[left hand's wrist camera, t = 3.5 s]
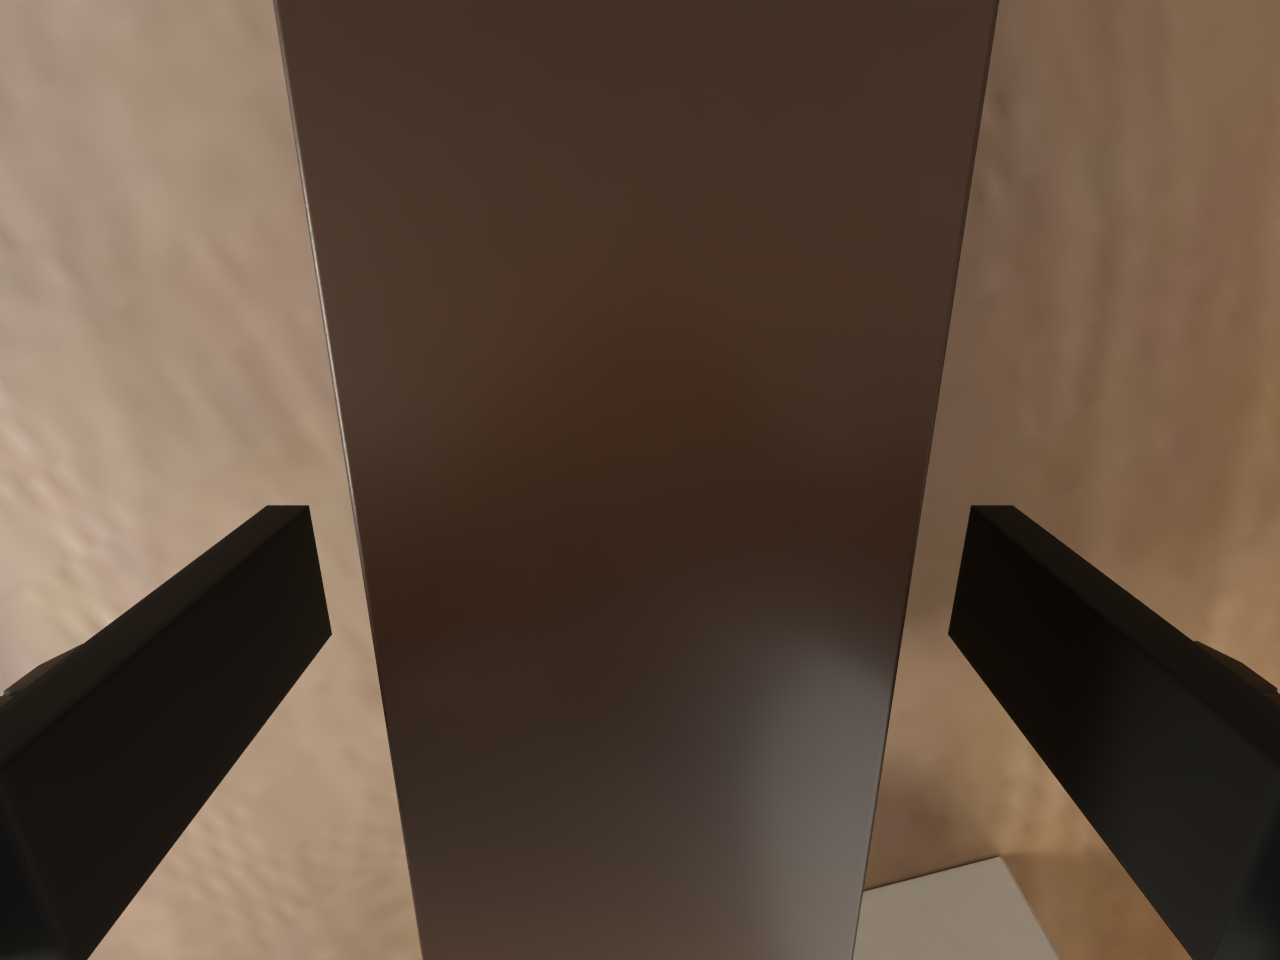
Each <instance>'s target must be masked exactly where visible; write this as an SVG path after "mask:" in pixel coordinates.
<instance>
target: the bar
mask: <svg viewBox="0 0 1280 960" xmlns="http://www.w3.org/2000/svg"><path fill="white" fill-rule="evenodd" d="M273 3H274V9H275V16H276V22H277V28H278V35H279V41H280V48H281V54H282V60H283V67H284V73H285V80H286V86H287V93H288V99H289V105H290V112H291V118H292V125H293V131H294V138H295V144H296V150H297V157H298V163H299V170H300V176H301V182H302V189H303V195H304V202H305V208H306V215H307V221H308V227H309V234H310V240H311V247H312V253H313V259H314V266H315V272H316V279H317V285H318V292H319V298H320V304H321V311H322V317H323V324H324V330H325V336H326V343H327V349H328V356H329V362H330V369H331V375H332V381H333V388H334V394H335V401H336V407H337V414H338V420H339V426H340V433H341V439H342V446H343V452H344V458H345V465H346V471H347V478H348V484H349V491H350V497H351V503H352V510H353V516H354V523H355V529H356V535H357V542H358V548H359V555H360V561H361V568H362V574H363V580H364V587H365V593H366V600H367V606H368V612H369V619H370V625H371V632H372V638H373V645H374V651H375V657H376V664H377V670H378V677H379V683H380V690H381V696H382V702H383V709H384V715H385V722H386V728H387V734H388V741H389V747H390V754H391V760H392V767H393V773H394V779H395V786H396V792H397V799H398V805H399V811H400V818H401V824H402V831H403V837H404V844H405V850H406V856H407V863H408V869H409V876H410V882H411V888H412V895H413V901H414V908H415V914H416V921H417V927H418V933H419V940H420V946H421V953H422V959H423V960H853V955H854V949H855V942H856V936H857V929H858V923H859V916H860V910H861V903H862V896H863V890H864V883H865V877H866V870H867V864H868V857H869V850H870V844H871V837H872V831H873V824H874V818H875V811H876V805H877V798H878V791H879V785H880V778H881V772H882V765H883V759H884V752H885V745H886V739H887V732H888V726H889V719H890V713H891V706H892V700H893V693H894V686H895V680H896V673H897V667H898V660H899V654H900V647H901V640H902V634H903V627H904V621H905V614H906V608H907V601H908V595H909V588H910V581H911V575H912V568H913V562H914V555H915V549H916V542H917V535H918V529H919V522H920V516H921V509H922V503H923V496H924V490H925V483H926V476H927V470H928V463H929V457H930V450H931V444H932V437H933V430H934V424H935V417H936V411H937V404H938V398H939V391H940V385H941V378H942V371H943V365H944V358H945V352H946V345H947V339H948V332H949V325H950V319H951V312H952V306H953V299H954V293H955V286H956V280H957V273H958V266H959V260H960V253H961V247H962V240H963V234H964V227H965V220H966V214H967V207H968V201H969V194H970V188H971V181H972V175H973V168H974V161H975V155H976V148H977V142H978V135H979V129H980V122H981V116H982V109H983V102H984V96H985V89H986V83H987V76H988V70H989V63H990V56H991V50H992V43H993V37H994V30H995V24H996V17H997V11H998V4H999V0H273Z"/></svg>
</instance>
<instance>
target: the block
mask: <svg viewBox="0 0 1280 960" xmlns="http://www.w3.org/2000/svg"><path fill="white" fill-rule="evenodd" d="M853 960H1062V959H1061V958H1060V956H1059V954H1058V952H1057V951H1056V949H1055V947H1054V945H1053V944H1052V942H1051V940H1050V938H1049V937H1048V935H1047V933H1046V932H1045V930H1044V928H1043V926H1042V925H1041V923H1040V921H1039V919H1038V918H1037V916H1036V914H1035V912H1034V911H1033V909H1032V907H1031V906H1030V904H1029V902H1028V900H1027V899H1026V897H1025V895H1024V893H1023V892H1022V890H1021V888H1020V886H1019V885H1018V883H1017V881H1016V880H1015V878H1014V876H1013V874H1012V873H1011V871H1010V869H1009V867H1008V866H1007V864H1006V862H1005V860H1004V859H1003V858H1002V857H995V858H991V859H987V860H983V861H979V862H976V863H972V864H968V865H964V866H960V867H956V868H952V869H948V870H945V871H941V872H937V873H933V874H929V875H925V876H921V877H917V878H914V879H910V880H906V881H902V882H898V883H894V884H890V885H886V886H883V887H879V888H875V889H871V890H867V891H863V896H862V903H861V910H860V916H859V923H858V929H857V936H856V942H855V949H854V955H853Z"/></svg>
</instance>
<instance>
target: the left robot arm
mask: <svg viewBox="0 0 1280 960" xmlns="http://www.w3.org/2000/svg"><path fill="white" fill-rule="evenodd" d="M331 635H332V632H331V626H330V621H329V615H328V610H327V604H326V598H325V593H324V587H323V582H322V576H321V571H320V565H319V560H318V554H317V549H316V543H315V537H314V532H313V526H312V521H311V515H310V510H309V505H267V506H266V507H264V508H263V509H262V510H261V511H259V512H258V513H257V514H255V515H254V516H253V517H251V518H250V519H249V520H247V521H246V522H245V523H243V524H242V525H241V526H239V527H238V528H237V529H235V530H234V531H233V532H231V533H230V534H229V535H227V536H226V537H225V538H223V539H222V540H221V541H219V542H218V543H217V544H215V545H214V546H213V547H211V548H210V549H209V550H207V551H206V552H205V553H203V554H202V555H201V556H199V557H198V558H197V559H195V560H194V561H193V562H191V563H190V564H189V565H187V566H186V567H185V568H183V569H182V570H181V571H179V572H178V573H177V574H176V575H174V576H173V577H172V578H170V579H169V580H168V581H166V582H165V583H164V584H162V585H161V586H160V587H158V588H157V589H156V590H154V591H153V592H152V593H150V594H149V595H148V596H146V597H145V598H144V599H142V600H141V601H140V602H138V603H137V604H136V605H134V606H133V607H132V608H130V609H129V610H128V611H126V612H125V613H124V614H122V615H121V616H120V617H118V618H117V619H116V620H114V621H113V622H112V623H110V624H109V625H108V626H106V627H105V628H104V629H102V630H101V631H100V632H98V633H97V634H96V635H94V636H93V637H92V638H91V639H89V640H88V641H87V642H85V643H84V644H81V645H79V646H77V647H75V648H73V649H71V650H69V651H67V652H65V653H63V654H61V655H59V656H57V657H55V658H53V659H51V660H49V661H47V662H45V663H43V664H41V665H39V666H37V667H36V668H35V669H33V670H32V671H31V672H29V673H28V674H26V675H25V676H24V677H22V678H21V679H20V680H18V681H17V682H16V683H14V684H13V685H11V686H10V687H9V688H7V689H6V690H5V691H4V694H3V696H0V960H87V959H88V958H89V956H90V955H91V954H92V952H93V951H94V950H95V948H96V947H97V946H98V944H99V943H100V942H101V940H102V939H103V938H104V936H105V935H106V934H107V933H108V931H109V930H110V929H111V927H112V926H113V925H114V923H115V922H116V921H117V919H118V918H119V917H120V915H121V914H122V913H123V911H124V910H125V909H126V907H127V906H128V905H129V903H130V902H131V901H132V899H133V898H134V897H135V895H136V894H137V893H138V891H139V890H140V889H141V887H142V886H143V885H144V883H145V882H146V881H147V879H148V878H149V877H150V875H151V874H152V873H153V871H154V870H155V869H156V867H157V866H158V865H159V863H160V862H161V861H162V859H163V858H164V857H165V855H166V854H167V853H168V851H169V850H170V849H171V847H172V846H173V845H174V843H175V842H176V841H177V839H178V838H179V837H180V835H181V834H182V833H183V831H184V830H185V829H186V828H187V826H188V825H189V824H190V822H191V821H192V820H193V818H194V817H195V816H196V814H197V813H198V812H199V810H200V809H201V808H202V806H203V805H204V804H205V802H206V801H207V800H208V798H209V797H210V796H211V794H212V793H213V792H214V790H215V789H216V788H217V786H218V785H219V784H220V782H221V781H222V780H223V778H224V777H225V776H226V774H227V773H228V772H229V770H230V769H231V768H232V766H233V765H234V764H235V762H236V761H237V760H238V758H239V757H240V756H241V754H242V753H243V752H244V750H245V749H246V748H247V746H248V745H249V744H250V742H251V741H252V740H253V738H254V737H255V736H256V734H257V733H258V732H259V730H260V729H261V728H262V726H263V725H264V724H265V723H266V721H267V720H268V719H269V717H270V716H271V715H272V713H273V712H274V711H275V709H276V708H277V707H278V705H279V704H280V703H281V701H282V700H283V699H284V697H285V696H286V695H287V693H288V692H289V691H290V689H291V688H292V687H293V685H294V684H295V683H296V681H297V680H298V679H299V677H300V676H301V675H302V673H303V672H304V671H305V669H306V668H307V667H308V665H309V664H310V663H311V661H312V660H313V659H314V657H315V656H316V655H317V653H318V652H319V651H320V649H321V648H322V647H323V645H324V644H325V643H326V641H327V640H328V639H329V637H330V636H331ZM948 635H949V636H950V637H951V639H952V640H953V641H954V643H955V644H956V645H957V647H958V648H959V649H960V651H961V652H962V653H963V655H964V656H965V657H966V659H967V660H968V661H969V663H970V664H971V665H972V667H973V668H974V669H975V671H976V672H977V673H978V675H979V676H980V677H981V679H982V680H983V681H984V683H985V684H986V685H987V687H988V688H989V689H990V691H991V692H992V693H993V695H994V696H995V697H996V699H997V700H998V701H999V703H1000V704H1001V705H1002V707H1003V708H1004V709H1005V711H1006V712H1007V713H1008V715H1009V716H1010V717H1011V719H1012V720H1013V721H1014V723H1015V724H1016V725H1017V727H1018V728H1019V729H1020V731H1021V732H1022V733H1023V735H1024V736H1025V737H1026V738H1027V740H1028V741H1029V742H1030V744H1031V745H1032V746H1033V748H1034V749H1035V750H1036V752H1037V753H1038V754H1039V756H1040V757H1041V758H1042V760H1043V761H1044V762H1045V764H1046V765H1047V766H1048V768H1049V769H1050V770H1051V772H1052V773H1053V774H1054V776H1055V777H1056V778H1057V780H1058V781H1059V782H1060V784H1061V785H1062V786H1063V788H1064V789H1065V790H1066V792H1067V793H1068V794H1069V796H1070V797H1071V798H1072V800H1073V801H1074V802H1075V804H1076V805H1077V806H1078V808H1079V809H1080V810H1081V812H1082V813H1083V814H1084V816H1085V817H1086V818H1087V820H1088V821H1089V822H1090V824H1091V825H1092V826H1093V828H1094V829H1095V830H1096V832H1097V833H1098V834H1099V836H1100V837H1101V838H1102V839H1103V841H1104V842H1105V843H1106V845H1107V846H1108V847H1109V849H1110V850H1111V851H1112V853H1113V854H1114V855H1115V857H1116V858H1117V859H1118V861H1119V862H1120V863H1121V865H1122V866H1123V867H1124V869H1125V870H1126V871H1127V873H1128V874H1129V875H1130V877H1131V878H1132V879H1133V881H1134V882H1135V883H1136V885H1137V886H1138V887H1139V889H1140V890H1141V891H1142V893H1143V894H1144V895H1145V897H1146V898H1147V899H1148V901H1149V902H1150V903H1151V905H1152V906H1153V907H1154V909H1155V910H1156V911H1157V913H1158V914H1159V915H1160V917H1161V918H1162V919H1163V921H1164V922H1165V923H1166V925H1167V926H1168V927H1169V929H1170V930H1171V931H1172V933H1173V934H1174V935H1175V937H1176V938H1177V939H1178V941H1179V942H1180V943H1181V944H1182V946H1183V947H1184V948H1185V950H1186V951H1187V952H1188V954H1189V955H1190V956H1191V958H1192V959H1193V960H1280V694H1279V693H1278V692H1277V688H1276V687H1275V686H1273V685H1272V684H1270V683H1269V682H1268V681H1266V680H1265V679H1264V678H1262V677H1261V676H1259V675H1258V674H1257V673H1255V672H1254V671H1253V670H1251V669H1250V668H1248V667H1247V666H1246V665H1244V664H1243V663H1241V662H1239V661H1237V660H1235V659H1233V658H1231V657H1229V656H1227V655H1225V654H1223V653H1221V652H1219V651H1217V650H1215V649H1213V648H1211V647H1209V646H1207V645H1204V644H1202V643H1200V642H1198V641H1192V640H1191V639H1189V638H1188V637H1187V636H1185V635H1184V634H1183V633H1182V632H1180V631H1179V630H1178V629H1176V628H1175V627H1174V626H1172V625H1171V624H1170V623H1168V622H1167V621H1166V620H1164V619H1163V618H1162V617H1160V616H1159V615H1158V614H1156V613H1155V612H1154V611H1152V610H1151V609H1150V608H1148V607H1147V606H1146V605H1144V604H1143V603H1142V602H1140V601H1139V600H1138V599H1136V598H1135V597H1134V596H1132V595H1131V594H1130V593H1128V592H1127V591H1126V590H1124V589H1123V588H1122V587H1120V586H1119V585H1118V584H1116V583H1115V582H1114V581H1112V580H1111V579H1110V578H1108V577H1107V576H1106V575H1104V574H1103V573H1102V572H1100V571H1099V570H1098V569H1097V568H1095V567H1094V566H1093V565H1091V564H1090V563H1089V562H1087V561H1086V560H1085V559H1083V558H1082V557H1081V556H1079V555H1078V554H1077V553H1075V552H1074V551H1073V550H1071V549H1070V548H1069V547H1067V546H1066V545H1065V544H1063V543H1062V542H1061V541H1059V540H1058V539H1057V538H1055V537H1054V536H1053V535H1051V534H1050V533H1049V532H1047V531H1046V530H1045V529H1043V528H1042V527H1041V526H1039V525H1038V524H1037V523H1035V522H1034V521H1033V520H1031V519H1030V518H1029V517H1027V516H1026V515H1025V514H1023V513H1022V512H1021V511H1019V510H1018V509H1017V508H1015V507H1014V506H1013V505H971V509H970V515H969V521H968V526H967V532H966V537H965V543H964V548H963V554H962V559H961V565H960V571H959V576H958V582H957V587H956V593H955V598H954V604H953V609H952V615H951V621H950V626H949V632H948Z"/></svg>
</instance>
